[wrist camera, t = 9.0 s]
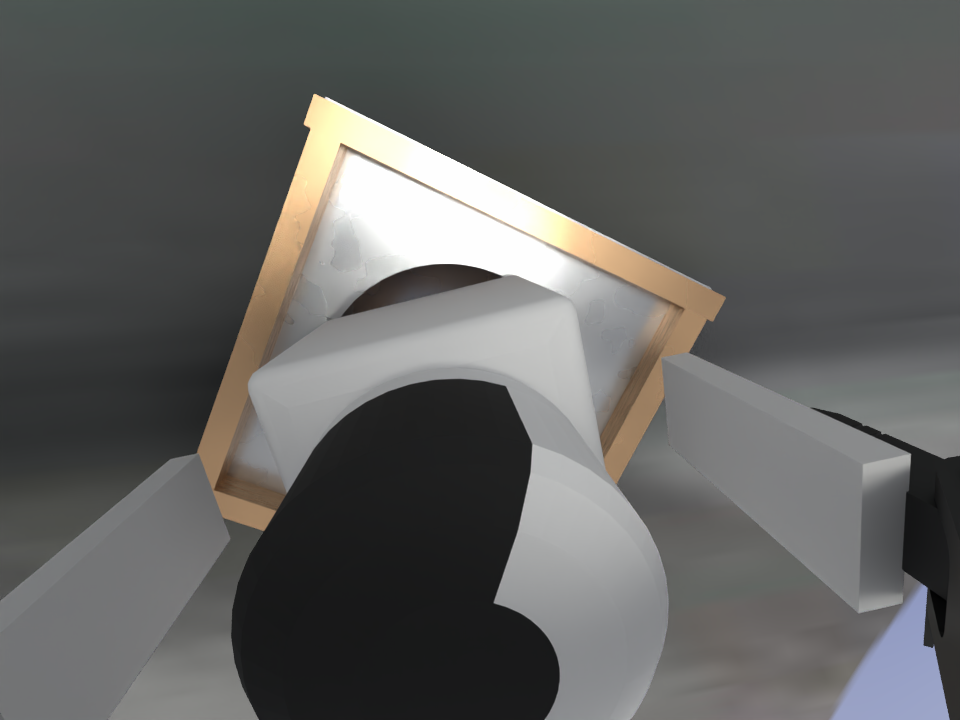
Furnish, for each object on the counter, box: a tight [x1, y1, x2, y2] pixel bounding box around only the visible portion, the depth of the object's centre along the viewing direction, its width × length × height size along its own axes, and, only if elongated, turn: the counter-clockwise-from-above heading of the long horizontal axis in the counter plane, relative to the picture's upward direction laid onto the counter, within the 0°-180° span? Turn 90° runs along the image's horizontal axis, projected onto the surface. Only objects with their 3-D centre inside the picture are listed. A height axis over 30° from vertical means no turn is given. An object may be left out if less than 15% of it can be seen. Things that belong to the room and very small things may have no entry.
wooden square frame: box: [197, 94, 726, 531], centre depth 19 cm, size 16×16×2 cm
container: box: [231, 275, 669, 720], centre depth 13 cm, size 8×8×13 cm
